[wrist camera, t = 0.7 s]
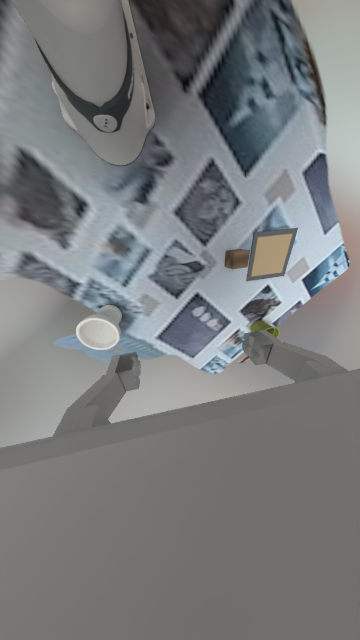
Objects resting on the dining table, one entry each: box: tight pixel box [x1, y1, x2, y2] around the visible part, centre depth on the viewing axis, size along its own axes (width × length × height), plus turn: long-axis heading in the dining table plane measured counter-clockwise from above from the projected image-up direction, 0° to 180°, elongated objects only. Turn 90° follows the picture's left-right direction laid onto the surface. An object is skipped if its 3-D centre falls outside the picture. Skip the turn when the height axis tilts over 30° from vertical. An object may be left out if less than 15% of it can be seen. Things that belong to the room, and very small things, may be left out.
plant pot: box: [251, 321, 280, 338], centre depth 62 cm, size 9×9×9 cm
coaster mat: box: [246, 228, 298, 281], centre depth 50 cm, size 16×16×1 cm
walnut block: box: [225, 249, 250, 269], centre depth 46 cm, size 5×5×6 cm
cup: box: [76, 305, 122, 350], centre depth 45 cm, size 11×11×14 cm
